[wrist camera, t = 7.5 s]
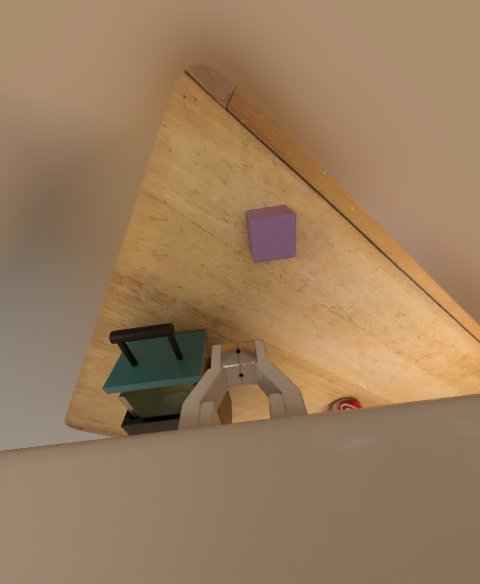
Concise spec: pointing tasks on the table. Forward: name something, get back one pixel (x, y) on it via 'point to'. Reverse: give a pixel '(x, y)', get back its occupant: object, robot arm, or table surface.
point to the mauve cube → (271, 233)
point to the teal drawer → (157, 368)
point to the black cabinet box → (170, 420)
